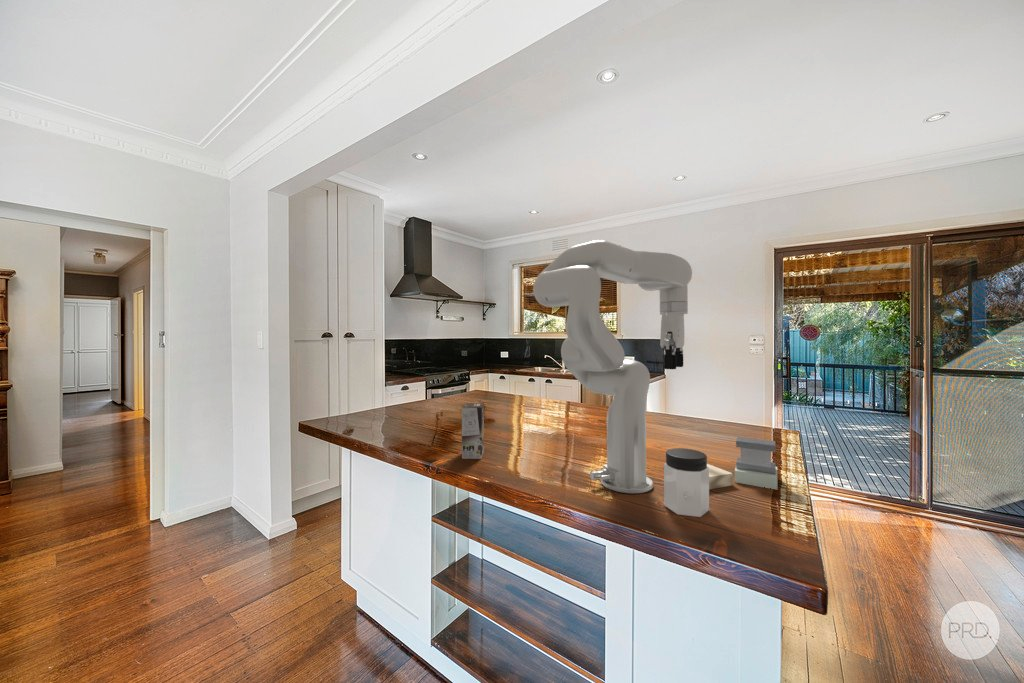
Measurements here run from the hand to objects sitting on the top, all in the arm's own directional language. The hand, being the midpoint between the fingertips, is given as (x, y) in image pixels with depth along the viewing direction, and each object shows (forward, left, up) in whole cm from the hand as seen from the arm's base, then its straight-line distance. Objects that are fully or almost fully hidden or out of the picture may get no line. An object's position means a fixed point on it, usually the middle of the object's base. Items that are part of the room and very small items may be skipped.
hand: (673, 367), depth 112 cm
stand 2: (+11, -17, -28) cm, 35 cm away
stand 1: (-2, -13, -28) cm, 31 cm away
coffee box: (-53, +30, -28) cm, 67 cm away
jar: (-18, -24, -28) cm, 41 cm away
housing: (+11, -17, -25) cm, 32 cm away
